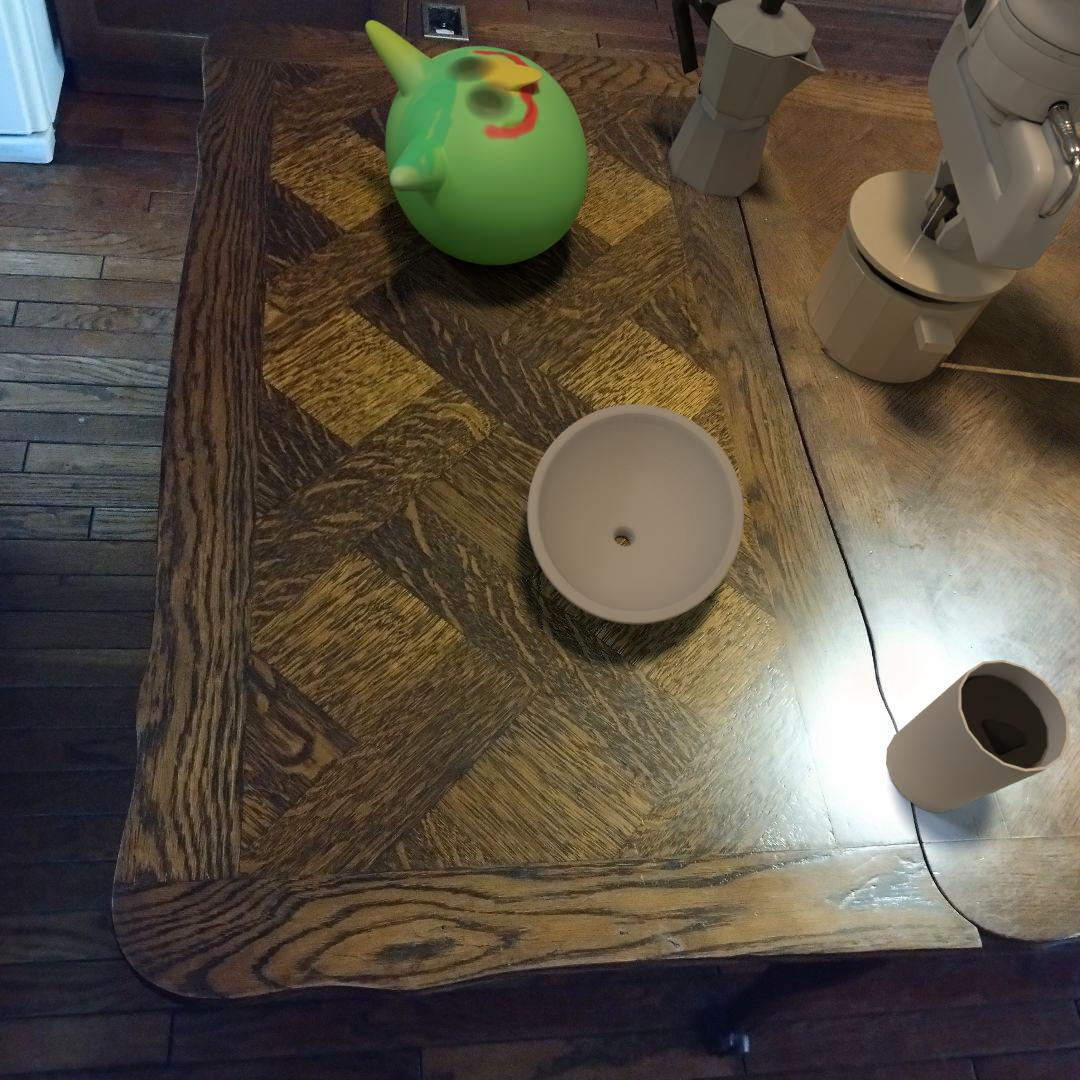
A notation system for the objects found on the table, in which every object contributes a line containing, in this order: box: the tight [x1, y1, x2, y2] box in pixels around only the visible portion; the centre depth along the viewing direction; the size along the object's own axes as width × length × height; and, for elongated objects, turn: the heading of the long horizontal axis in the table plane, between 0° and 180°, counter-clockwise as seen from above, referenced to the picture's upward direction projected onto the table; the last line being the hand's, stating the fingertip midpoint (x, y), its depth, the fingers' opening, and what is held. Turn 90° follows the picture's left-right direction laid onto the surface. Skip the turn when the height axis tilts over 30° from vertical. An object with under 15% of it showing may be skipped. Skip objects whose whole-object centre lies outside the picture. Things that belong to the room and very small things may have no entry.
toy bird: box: [364, 19, 589, 266], centre depth 77 cm, size 18×17×15 cm
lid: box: [846, 170, 1018, 302], centre depth 75 cm, size 14×14×5 cm
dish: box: [526, 403, 745, 625], centre depth 67 cm, size 18×14×5 cm
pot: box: [805, 220, 994, 384], centre depth 81 cm, size 13×18×8 cm
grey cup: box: [885, 659, 1071, 813], centre depth 60 cm, size 7×7×10 cm
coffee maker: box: [666, 0, 827, 198], centre depth 84 cm, size 15×9×18 cm, turn 48°
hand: (939, 225), depth 75 cm, fingers closed on lid, 2 cm apart
